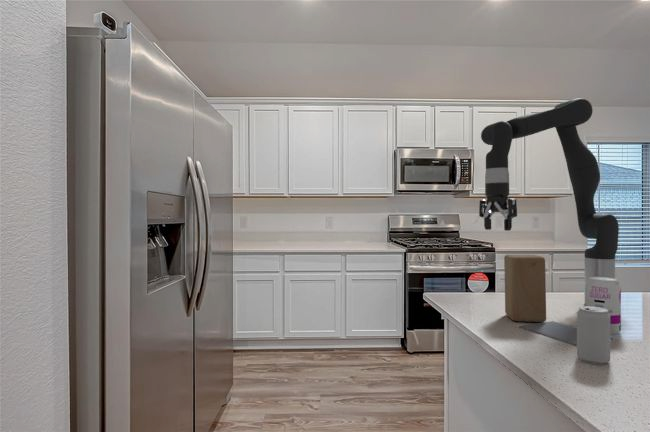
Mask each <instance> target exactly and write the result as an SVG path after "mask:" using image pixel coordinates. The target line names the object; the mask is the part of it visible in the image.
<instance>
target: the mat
mask: <svg viewBox="0 0 650 432" xmlns="http://www.w3.org/2000/svg"><path fill="white" fill-rule="evenodd" d="M518 328H520V329H524V330H528V331H530V332H533V333H535V334H539V335H542V336H546V337H548V338H551V339H555V340H557V341H561V342H564V343H568V344H570V345H573V346H577V326H572V325H568V324H565V323H561V322H559V321H558V322H557V321H555V320H552V321H544V322H535V323H529V324H522V325H518ZM613 339H614V338H613V337H611V336H610V340H613Z"/></svg>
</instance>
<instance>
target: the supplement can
mask: <svg viewBox="0 0 650 432" xmlns="http://www.w3.org/2000/svg"><path fill="white" fill-rule="evenodd" d="M585 306H592V307H600V308H604V309H607V310H608V314H609V315H610V336H613V335H618V334H619V333H620V332H621V331H622V322H621V321H622V318H621V317H622V285H621V283H620V281H619V279H618V278H616V277H615V278H608V277H589V279H588V280H587V282H586V304H585Z"/></svg>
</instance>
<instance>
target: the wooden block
mask: <svg viewBox="0 0 650 432" xmlns="http://www.w3.org/2000/svg"><path fill="white" fill-rule="evenodd" d="M503 261H504V263H503V265H504V311H505V314H506V316H508V317H509V318H510V319H511V320H512V321H514V322H528V323H529V322H530V323H544V322H547V321H546V320H547V291H546V259H545V257H543V256H540V255H537V254H536V255H535V254H506V255H504V259H503Z"/></svg>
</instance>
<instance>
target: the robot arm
mask: <svg viewBox="0 0 650 432" xmlns="http://www.w3.org/2000/svg"><path fill="white" fill-rule="evenodd" d="M592 115H593V106H592V103H591V102H590V101H589V100H588V99H586V98H581V97H579V98H573V99H568V100H567V101H564V102H561V103H559V104H556V105H555V106H554V107H553V108H551V109H547V110H543V111H539V112H534V113H529V114H525V115H521V116H518V117H514V118H512V119H509V120H507V121H505V120H501V121H497V122H495V123H490V124H489V125H486V126H485V127H484V128H483V129H482V131H481V133H480V139H481V140H482V142H483V143H484V144H485V145H490V146H491V149H490V151H489V152H487V153H486V155H485V173H484V183H485V184H484V190H485V191H484V193H485V197H486V199H480V200H479V207H478V208H479V209H478V210H479V213H478V214H479V215H478V216H479V218H483V220H484V223H483V225H484V230H485V231H488V230H492V217H493V215H494V214H495V213H499V214H501V216H503V218H504V220H503V223H504V224H503V226H504V227H503V229H504V230H503V231H511V230H512V227H513V224H512V223H513V222H512V221H513V220H512V219H513V218H517V217H518V207H517V199H516V198H509V195H510V172H509V153H510V149H511V146H512V143H513V142H512V141H513V140H515V139H519V138H524V137H529V136H532V135H534V134H538V133H541V132H544V131H548V130H550V129H554V128H555V130H556V132H557V135H558V138H559V141H560V144H561V147H562V151H563V155H564V159H565V162H566V163H565V164H566V167H567V171H568V172H567V173H568V176H569V181H570V183H571V186H572V187H571V188H572V191H573V197H574V201H575V208H576V215H577V224H578V228H579V231H580V234H581V235H582V237H585V238H586V239H591V240H592V239H594V240H595V245H593V246H592V247H589V248H586V249H585V250H584V265H583V266H584V296H583V297H584V305H586V282H587V280H588V279H589V277H608V278H615V279H616V254H617V251H618V248H619V247H618V246H619V235H620V234H619V233H620V232H619V227H620V226H619V222H618V219H617V218H616V216H614V215H613V214H610V213H597V212H596V207H595V201H594V199H595V195H596V191H597V190H598V187H599V184H600V181H601V172H600V168H599V164H598V160H597V157H596V156H595V155H594V153H593V152H592V151H591V150H590V149H589V148H588V147H587V146H586V144H585V143H584V142H583V141H582V140H581V138H580V135H579V133H578V129H577V126H580V125H583V124H585V123H586V122H588V121H589V120H590V119H591V117H592Z"/></svg>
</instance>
